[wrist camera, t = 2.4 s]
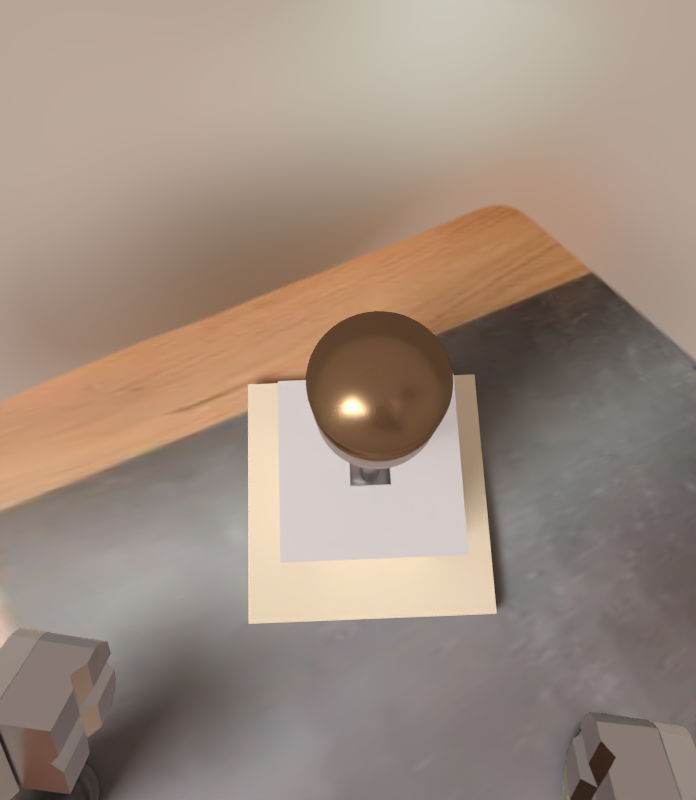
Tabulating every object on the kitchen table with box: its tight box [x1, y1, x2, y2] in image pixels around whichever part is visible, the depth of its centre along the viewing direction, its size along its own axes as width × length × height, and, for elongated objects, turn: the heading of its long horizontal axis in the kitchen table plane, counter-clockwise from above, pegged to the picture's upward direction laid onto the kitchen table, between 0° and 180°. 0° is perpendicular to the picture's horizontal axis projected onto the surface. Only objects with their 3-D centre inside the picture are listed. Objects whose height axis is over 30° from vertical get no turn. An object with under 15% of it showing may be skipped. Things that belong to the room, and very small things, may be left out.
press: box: [248, 374, 497, 624], centre depth 39 cm, size 18×18×18 cm
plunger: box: [306, 311, 453, 486], centre depth 24 cm, size 7×7×18 cm
